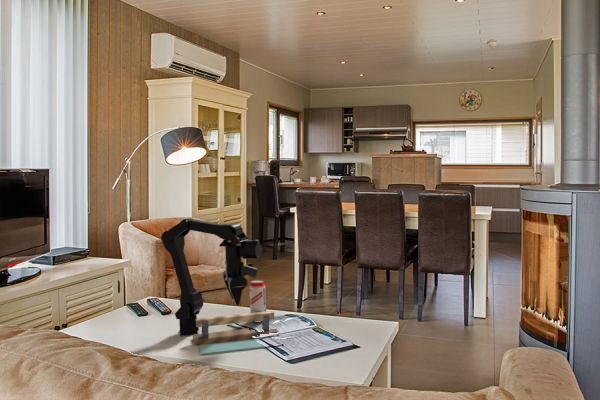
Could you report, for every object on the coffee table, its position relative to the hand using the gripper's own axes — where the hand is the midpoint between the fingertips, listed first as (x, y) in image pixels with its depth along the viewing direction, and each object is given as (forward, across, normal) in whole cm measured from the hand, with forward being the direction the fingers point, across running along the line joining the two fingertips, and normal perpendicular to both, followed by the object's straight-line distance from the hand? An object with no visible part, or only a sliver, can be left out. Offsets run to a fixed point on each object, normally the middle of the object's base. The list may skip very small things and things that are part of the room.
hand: (235, 301), depth 191 cm
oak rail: (+8, 0, 0) cm, 8 cm away
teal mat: (+13, -10, 0) cm, 17 cm away
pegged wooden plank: (+11, 0, 0) cm, 12 cm away
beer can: (+13, +18, -12) cm, 25 cm away
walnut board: (+13, 0, 0) cm, 13 cm away
